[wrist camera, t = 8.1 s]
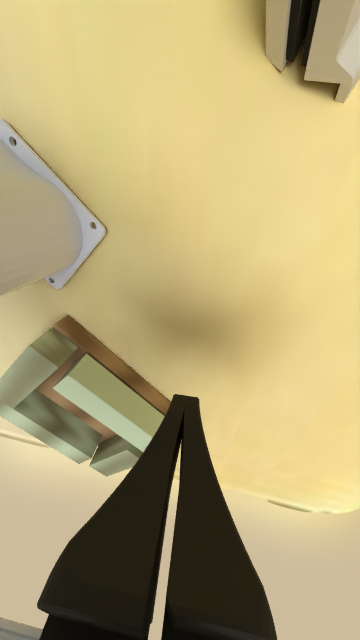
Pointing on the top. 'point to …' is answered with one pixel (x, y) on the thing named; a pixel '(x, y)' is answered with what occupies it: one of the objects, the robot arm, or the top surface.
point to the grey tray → (60, 413)
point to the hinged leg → (110, 401)
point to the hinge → (317, 39)
